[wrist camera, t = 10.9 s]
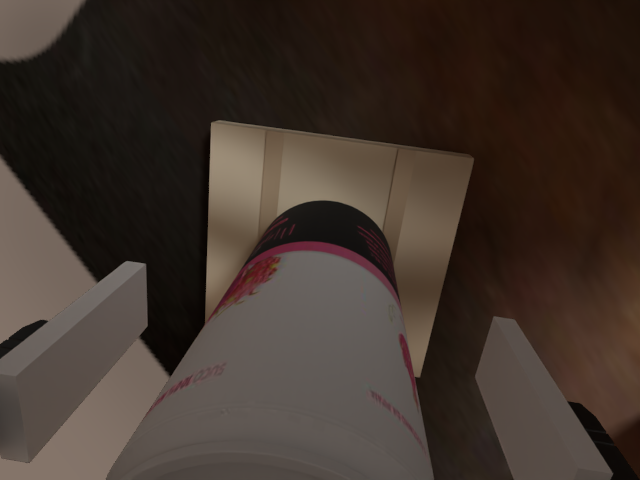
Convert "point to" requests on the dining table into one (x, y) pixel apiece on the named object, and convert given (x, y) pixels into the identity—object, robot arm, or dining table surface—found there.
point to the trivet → (341, 186)
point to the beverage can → (294, 368)
